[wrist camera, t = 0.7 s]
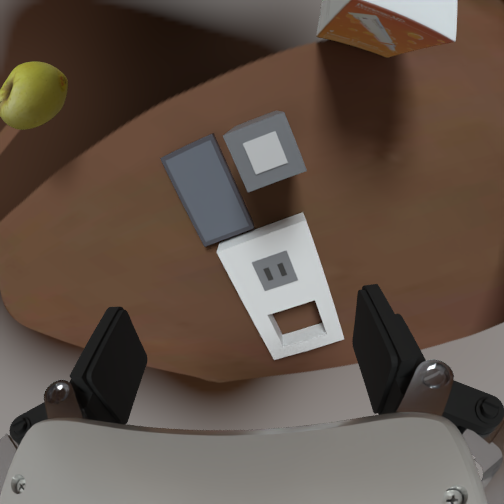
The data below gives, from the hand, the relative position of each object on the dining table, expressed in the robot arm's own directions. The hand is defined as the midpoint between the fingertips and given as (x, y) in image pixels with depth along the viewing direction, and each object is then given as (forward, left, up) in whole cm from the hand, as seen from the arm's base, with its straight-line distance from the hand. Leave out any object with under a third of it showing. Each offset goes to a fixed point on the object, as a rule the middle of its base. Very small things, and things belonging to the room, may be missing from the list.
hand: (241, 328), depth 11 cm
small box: (-17, -13, -22) cm, 31 cm away
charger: (-3, -4, -22) cm, 23 cm away
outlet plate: (+1, +14, -22) cm, 26 cm away
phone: (+5, -1, -22) cm, 23 cm away
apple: (+17, -21, -22) cm, 35 cm away
